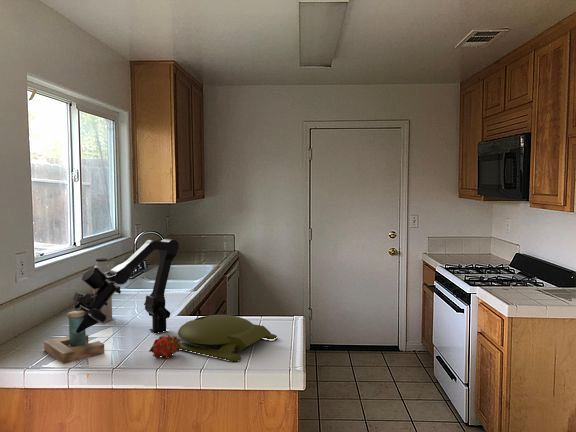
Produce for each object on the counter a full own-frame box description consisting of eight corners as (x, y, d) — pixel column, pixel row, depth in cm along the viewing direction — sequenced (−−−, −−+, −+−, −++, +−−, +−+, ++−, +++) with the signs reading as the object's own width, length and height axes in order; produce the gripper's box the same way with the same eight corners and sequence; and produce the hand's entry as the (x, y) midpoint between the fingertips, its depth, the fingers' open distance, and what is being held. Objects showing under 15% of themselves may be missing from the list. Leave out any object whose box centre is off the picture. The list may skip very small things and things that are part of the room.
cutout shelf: (83, 341, 195) (83, 332, 195) (104, 353, 182) (104, 344, 181) (44, 350, 185) (44, 341, 184) (63, 363, 171) (63, 354, 171)
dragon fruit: (183, 357, 182) (152, 369, 175) (174, 340, 187) (143, 350, 180) (186, 344, 177) (154, 355, 170) (177, 326, 182) (145, 336, 175)
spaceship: (279, 339, 199) (279, 316, 199) (236, 365, 172) (236, 337, 172) (210, 327, 216) (210, 305, 215) (161, 348, 189) (160, 323, 188)
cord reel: (91, 345, 186) (89, 311, 185) (77, 351, 180) (76, 316, 179) (78, 343, 188) (77, 309, 187) (64, 348, 182) (63, 314, 181)
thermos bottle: (102, 322, 220) (100, 260, 218) (89, 320, 224) (88, 259, 222) (116, 318, 227) (114, 258, 225) (103, 315, 231) (102, 256, 229)
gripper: (76, 280, 192) (47, 313, 185) (97, 287, 178) (67, 324, 172) (97, 296, 198) (70, 329, 191) (118, 305, 185) (90, 340, 178)
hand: (73, 330), depth 183 cm, fingers closed on cord reel, 6 cm apart
